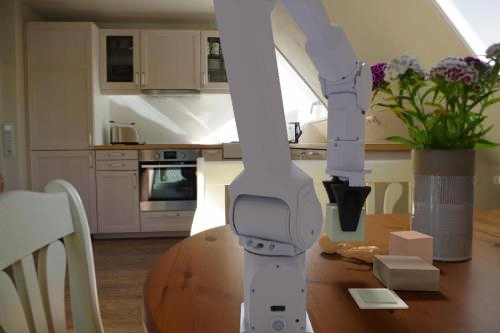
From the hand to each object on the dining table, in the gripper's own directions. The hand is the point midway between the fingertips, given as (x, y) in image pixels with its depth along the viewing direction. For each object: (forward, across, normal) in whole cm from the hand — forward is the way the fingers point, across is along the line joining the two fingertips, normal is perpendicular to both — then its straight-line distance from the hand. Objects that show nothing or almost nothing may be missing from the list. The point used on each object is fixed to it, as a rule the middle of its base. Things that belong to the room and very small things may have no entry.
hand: (344, 227), depth 61 cm
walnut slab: (+7, -4, -8) cm, 12 cm away
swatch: (+8, -10, -2) cm, 13 cm away
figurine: (+4, +13, +1) cm, 13 cm away
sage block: (+2, 0, 0) cm, 2 cm away
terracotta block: (+8, +6, -13) cm, 16 cm away
